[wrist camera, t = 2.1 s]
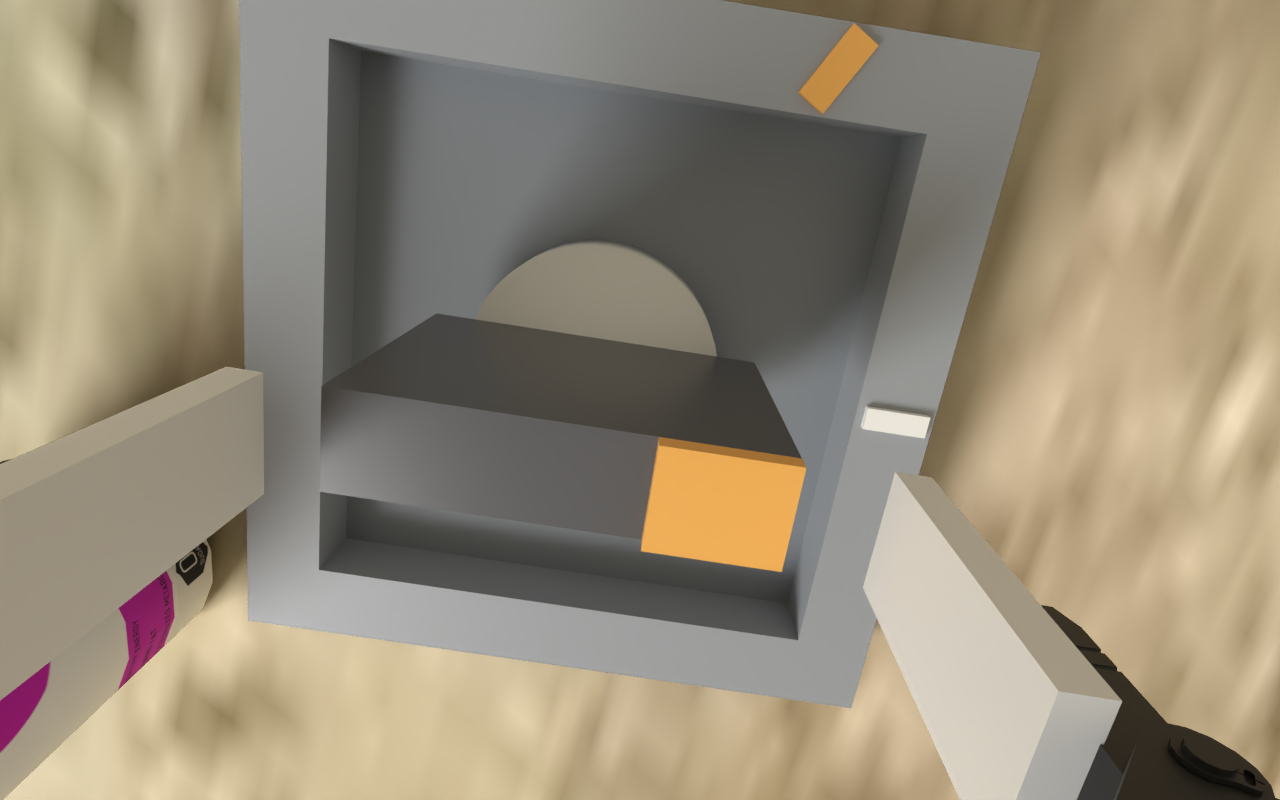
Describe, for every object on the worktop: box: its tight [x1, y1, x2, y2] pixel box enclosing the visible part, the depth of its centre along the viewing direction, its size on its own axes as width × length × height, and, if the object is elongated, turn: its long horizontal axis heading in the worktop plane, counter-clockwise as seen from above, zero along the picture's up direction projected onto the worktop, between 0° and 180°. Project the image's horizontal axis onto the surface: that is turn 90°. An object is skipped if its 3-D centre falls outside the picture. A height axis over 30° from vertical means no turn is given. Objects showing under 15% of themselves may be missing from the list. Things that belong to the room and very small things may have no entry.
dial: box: [319, 240, 806, 572], centre depth 20 cm, size 10×8×10 cm
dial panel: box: [239, 0, 1041, 708], centre depth 25 cm, size 22×22×4 cm
